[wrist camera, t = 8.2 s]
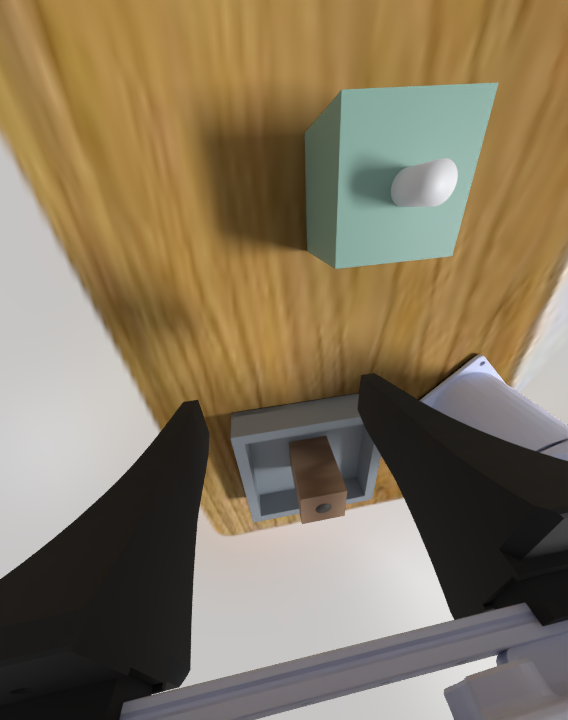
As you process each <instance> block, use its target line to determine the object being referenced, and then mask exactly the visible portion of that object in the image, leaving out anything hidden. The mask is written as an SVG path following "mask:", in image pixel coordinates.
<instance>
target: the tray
mask: <svg viewBox="0 0 568 720" xmlns="http://www.w3.org/2000/svg"><path fill="white" fill-rule="evenodd" d="M358 399H359V393H357V394H351V395H344V396H338V397H331V398H325V399H319V400H312V401H306V402H300V403H293V404H287V405H280V406H274V407H268V408H261V409H255V410H248V411H242V412H236V413H231V435H230V439H231V442H232V446H233V450H234V453H235V457H236V461H237V464H238V468H239V472H240V475H241V479H242V483H243V486H244V490H245V494H246V497H247V501H248V504H249V508H250V512H251V515H252V519H253V522H258V521H263V520H269V519H274V518H279V517H284V516H289V515H294V514H299V513H300V511H299V506H298V501H297V496H296V491H295V486H294V481H293V475H292V470H291V464H290V452H289V442H292V441H298V440H304V439H310V438H316V437H322V436H327V439H328V441H329V444H330V447H331V449H332V452H333V454H334V457H335V460H336V462H337V465H338V468H339V470H340V473H341V476H342V478H343V481H344V484H345V486H346V489H347V498H346V504H350V503H355V502H360V501H365V500H370V499H372V496H373V491H374V487H375V482H376V477H377V472H378V468H379V463H380V458H381V454H380V453H379V451H378V449H377V448H376V446H375V444H374V443H373V441H372V439H371V437H370V436H369V434H368V432H367V430H366V429H365V426H364V424H363V422H362V419H361V417H360V415H359V412H358V410H357V408H358Z"/></svg>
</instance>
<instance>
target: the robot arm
mask: <svg viewBox="0 0 568 720" xmlns="http://www.w3.org/2000/svg"><path fill="white" fill-rule="evenodd" d="M357 410H358V412H359V415H360V417H361V419H362V422H363V424H364V426H365V429H366V430H367V432H368V434H369V436H370V437H371V439H372V441H373V443H374V444H375V446H376V448H377V449H378V451H379V453H380V454H381V456H382V458H383V459H384V461H385V463H386V464H387V466H388V468H389V470H390V471H391V473H392V475H393V477H394V478H395V480H396V482H397V484H398V486H399V488H400V490H401V493H402V495H403V497H404V499H405V501H406V503H407V505H408V508H409V510H410V512H411V514H412V517H413V519H414V521H415V523H416V526H417V528H418V530H419V533H420V535H421V537H422V540H423V542H424V544H425V547H426V549H427V552H428V554H429V557H430V559H431V562H432V564H433V567H434V569H435V572H436V575H437V577H438V580H439V582H440V585H441V587H442V590H443V593H444V595H445V598H446V601H447V604H448V606H449V609H450V612H451V614H452V616H453V618H454V620H452V621H449V622H445V623H441V624H436V625H433V626H428V627H424V628H421V629H416V630H412V631H409V632H404V633H401V634H396V635H392V636H388V637H384V638H381V639H377V640H372V641H368V642H364V643H360V644H356V645H352V646H348V647H344V648H340V649H336V650H332V651H328V652H324V653H320V654H316V655H312V656H308V657H304V658H300V659H296V660H292V661H288V662H284V663H280V664H276V665H272V666H268V667H264V668H260V669H256V670H252V671H248V672H244V673H240V674H236V675H232V676H228V677H224V678H220V679H216V680H212V681H208V682H203V683H200V684H195V685H192V686H187V687H183V688H179V689H175V690H172V691H167V692H163V691H166V690H170V689H174V688H177V687H180V685H181V684H182V682H183V681H184V680H185V678H186V677H187V675H188V673H189V671H190V658H191V619H192V595H193V574H194V560H195V559H194V558H195V545H196V532H197V520H198V513H199V507H200V501H201V495H202V490H203V484H204V478H205V472H206V466H207V460H208V452H209V431H208V428H207V425H206V422H205V419H204V416H203V413H202V410H201V407H200V404H199V401H198V400H194V401H187V402H183V403H182V404H181V406H180V407H179V408H178V410H177V411H176V412H175V414H174V415H173V416H172V418H171V419H170V420H169V422H168V423H167V424H166V426H165V427H164V428H163V429H162V431H161V432H160V433H159V435H158V436H157V437H156V438H155V440H154V441H153V442H152V443H151V445H150V446H149V447H148V448H147V449H146V450H145V452H144V453H143V454H142V455H141V456H140V457H139V459H138V460H137V461H136V462H135V463H134V464H133V465H132V467H131V468H130V469H129V470H128V471H127V472H126V473H125V474H124V475H123V476H122V477H121V478H120V479H119V480H118V481H117V482H116V483H115V484H114V485H113V486H112V487H111V488H110V489H109V490H108V491H107V492H106V493H105V494H104V495H103V496H102V497H100V498H99V499H98V500H97V501H96V502H95V503H94V504H93V505H92V506H91V507H89V508H88V509H87V510H86V511H85V512H84V513H83V514H82V515H81V516H79V517H78V518H77V519H76V520H75V521H74V522H73V523H71V524H70V525H69V526H68V527H67V528H65V529H64V530H63V531H62V532H61V533H59V534H58V535H57V536H56V537H55V538H54V539H52V540H51V541H50V542H48V543H47V544H46V545H45V546H44V547H42V548H41V549H40V550H38V551H37V552H36V553H35V554H33V555H32V556H31V557H29V558H28V559H27V560H26V561H24V562H23V563H22V564H20V565H19V566H18V567H16V568H15V569H14V570H12V571H11V572H10V573H8V574H7V575H6V576H4V577H3V578H1V579H0V720H255V719H259V718H262V717H266V716H270V715H274V714H277V713H281V712H285V711H289V710H292V709H296V708H300V707H303V706H307V705H311V704H315V703H319V702H322V701H326V700H330V699H334V698H337V697H341V696H345V695H348V694H352V693H356V692H359V691H364V690H367V689H371V688H375V687H379V686H382V685H386V684H390V683H393V682H397V681H401V680H405V679H408V678H412V677H416V676H419V675H424V674H427V673H431V672H435V671H438V670H442V669H446V668H450V667H453V666H457V665H461V664H465V663H468V662H472V661H476V660H480V659H483V658H487V657H490V656H495V655H498V656H497V660H496V662H497V667H494V668H491V669H488V670H485V671H482V672H479V673H475V674H473V675H470V676H467V677H466V678H465V679H464V680H463V681H461V682H459V683H457V684H455V685H453V686H450V687H448V688H446V689H444V696H445V698H446V700H447V703H448V705H449V707H450V710H451V712H452V715H453V717H454V720H568V425H567V424H566V423H564V422H563V421H561V420H560V419H558V418H557V417H555V416H554V415H552V414H551V413H549V412H547V411H546V410H545V409H543V408H542V407H540V406H539V405H537V404H535V403H534V402H532V401H531V400H529V399H528V398H526V397H525V396H523V395H522V394H520V393H519V392H517V391H516V390H514V389H513V388H511V387H510V386H508V385H507V384H505V382H504V381H503V380H502V378H501V377H500V376H499V375H498V373H497V372H496V371H495V370H494V368H493V367H492V366H491V364H490V363H489V362H488V361H487V359H486V358H485V357H484V356H482V355H477V356H475V357H474V358H473V359H471V360H470V361H469V362H467V363H466V364H465V365H464V366H462V367H461V368H460V369H459V370H457V371H456V372H455V373H454V374H452V375H451V376H450V377H448V378H447V379H446V380H445V381H443V382H442V383H441V384H440V385H438V386H437V387H436V388H435V389H433V390H432V391H431V392H429V393H428V394H427V395H426V396H424V397H423V398H422V399H421V400H418V399H416V398H414V397H413V396H411V395H409V394H408V393H406V392H404V391H403V390H401V389H399V388H398V387H396V386H395V385H393V384H391V383H390V382H388V381H386V380H385V379H383V378H381V377H380V376H378V375H376V374H374V373H373V374H367V375H361V382H360V390H359V399H358V408H357ZM159 692H163V693H159ZM155 693H159V694H156V695H151V694H155Z"/></svg>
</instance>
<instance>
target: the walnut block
mask: <svg viewBox="0 0 568 720" xmlns="http://www.w3.org/2000/svg"><path fill="white" fill-rule="evenodd" d="M289 452H290V464H291V470H292V475H293V481H294V486H295V491H296V496H297V501H298V506H299V511H300V517H301V522H302V524H305V523H310V522H315V521H320V520H325V519H329V518H335V517H340V516H344V515H345V506H346V498H347V489H346V486H345V484H344V481H343V478H342V476H341V473H340V470H339V468H338V465H337V462H336V460H335V457H334V454H333V452H332V449H331V447H330V444H329V441H328V439H327V436H322V437H316V438H310V439H304V440H298V441H292V442H289Z"/></svg>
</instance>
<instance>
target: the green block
mask: <svg viewBox="0 0 568 720" xmlns="http://www.w3.org/2000/svg"><path fill="white" fill-rule="evenodd" d="M497 87H498V83H481V84H458V85H436V86H413V87H391V88H368V89H346V90H341V91H340V92H339V93H338V95H337V96H336V97H335V98H334V99H333V101H332V102H331V103H330V104H329V105H328V106H327V108H326V109H325V110H324V111H323V112H322V113H321V115H320V116H319V117H318V118H317V119H316V121H315V122H314V123H313V124H312V125H311V126H310V128H309V129H308V130H307V131H306V132H305V175H306V223H307V251H308V252H309V253H311V254H313V255H314V256H316V257H317V258H319V259H320V260H322V261H324V262H325V263H327V264H328V265H330V266H332V267H333V268H335V269H339V268H348V267H357V266H366V265H375V264H384V263H393V262H403V261H412V260H421V259H430V258H439V257H448V256H452V255H453V251H454V247H455V243H456V240H457V236H458V232H459V229H460V225H461V221H462V217H463V214H464V210H465V206H466V202H467V199H468V195H469V191H470V188H471V184H472V180H473V176H474V173H475V169H476V165H477V161H478V158H479V154H480V150H481V146H482V143H483V139H484V135H485V132H486V128H487V124H488V120H489V117H490V113H491V109H492V105H493V102H494V98H495V94H496V91H497Z"/></svg>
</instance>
